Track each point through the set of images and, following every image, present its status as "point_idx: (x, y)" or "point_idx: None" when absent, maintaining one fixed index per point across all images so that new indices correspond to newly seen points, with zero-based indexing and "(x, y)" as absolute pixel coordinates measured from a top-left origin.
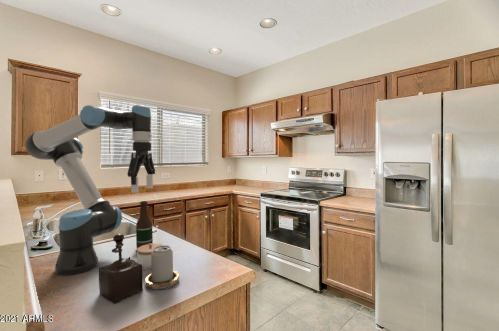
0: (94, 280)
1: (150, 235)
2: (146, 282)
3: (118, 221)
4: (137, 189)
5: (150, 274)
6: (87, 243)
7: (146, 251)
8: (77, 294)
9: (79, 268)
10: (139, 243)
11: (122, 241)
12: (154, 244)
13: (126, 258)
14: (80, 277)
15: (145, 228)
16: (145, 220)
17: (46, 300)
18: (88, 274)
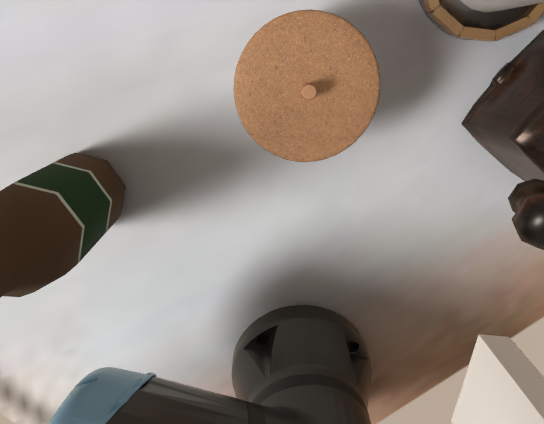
0: (420, 252)
1: (61, 175)
2: (534, 22)
3: (121, 385)
4: (539, 374)
5: (460, 30)
6: (332, 393)
7: (370, 91)
8: (515, 253)
9: (359, 339)
10: (111, 216)
11: (542, 191)
12: (259, 82)
13: (520, 141)
14: (388, 309)
15: (68, 213)
16: (28, 237)
17: (532, 318)
18: (366, 296)
